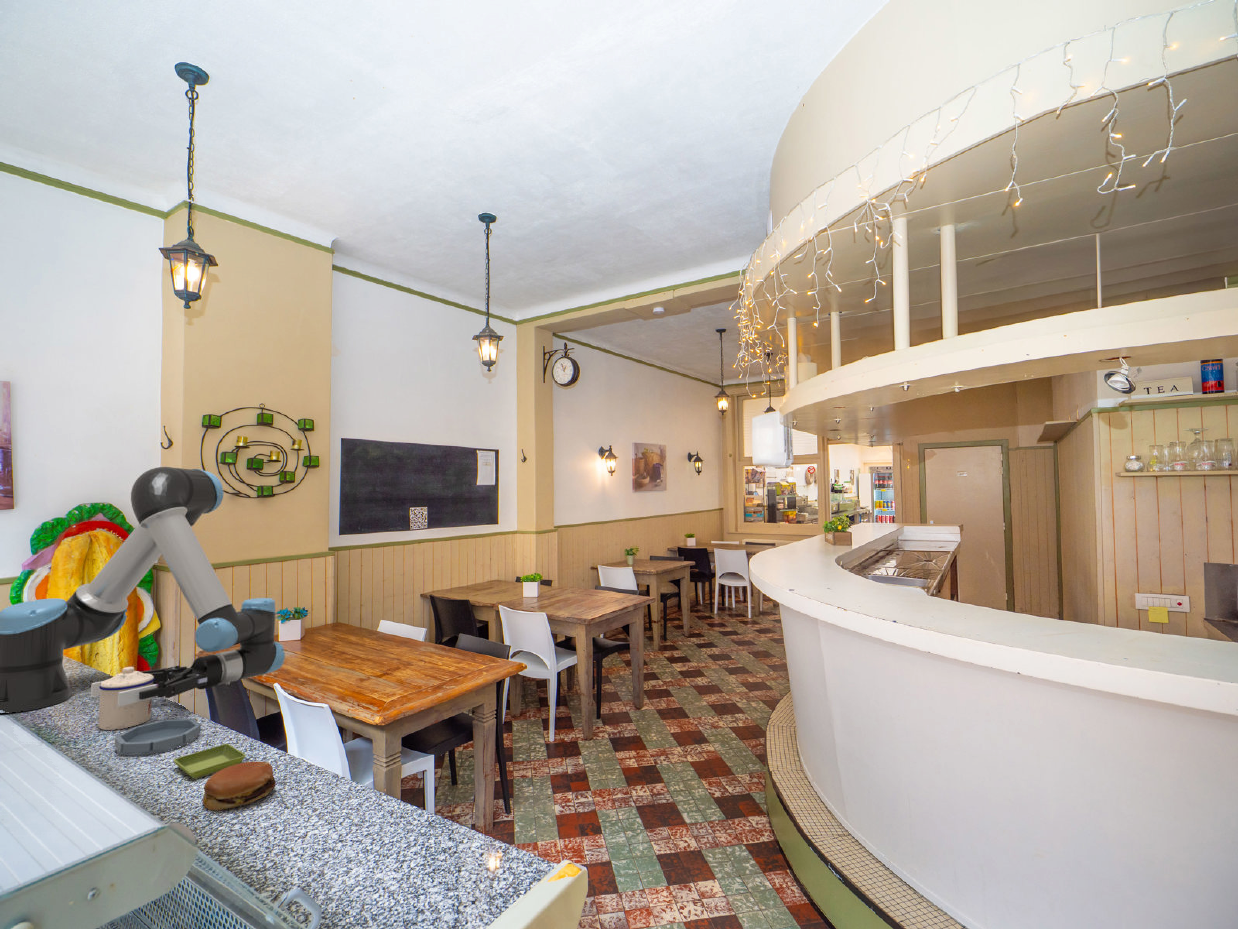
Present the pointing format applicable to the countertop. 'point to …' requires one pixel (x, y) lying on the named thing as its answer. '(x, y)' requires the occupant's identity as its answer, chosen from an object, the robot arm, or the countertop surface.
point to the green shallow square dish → (209, 760)
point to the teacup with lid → (127, 714)
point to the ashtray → (157, 737)
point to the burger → (238, 785)
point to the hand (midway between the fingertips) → (104, 694)
